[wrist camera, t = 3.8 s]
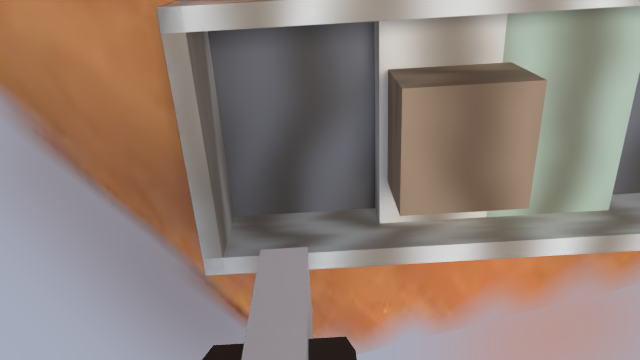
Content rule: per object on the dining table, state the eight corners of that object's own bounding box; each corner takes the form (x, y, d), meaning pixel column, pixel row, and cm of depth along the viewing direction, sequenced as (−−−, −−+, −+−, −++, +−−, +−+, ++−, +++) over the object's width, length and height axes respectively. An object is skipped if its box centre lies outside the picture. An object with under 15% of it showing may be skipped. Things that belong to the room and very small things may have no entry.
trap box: (220, 229, 34) (205, 275, 29) (183, -1, 28) (155, 7, 23) (725, 200, 34) (797, 241, 29) (805, -38, 28) (915, -38, 23)
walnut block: (387, 181, 30) (400, 216, 26) (388, 69, 27) (402, 88, 23) (498, 174, 30) (528, 208, 26) (511, 62, 27) (547, 80, 23)
